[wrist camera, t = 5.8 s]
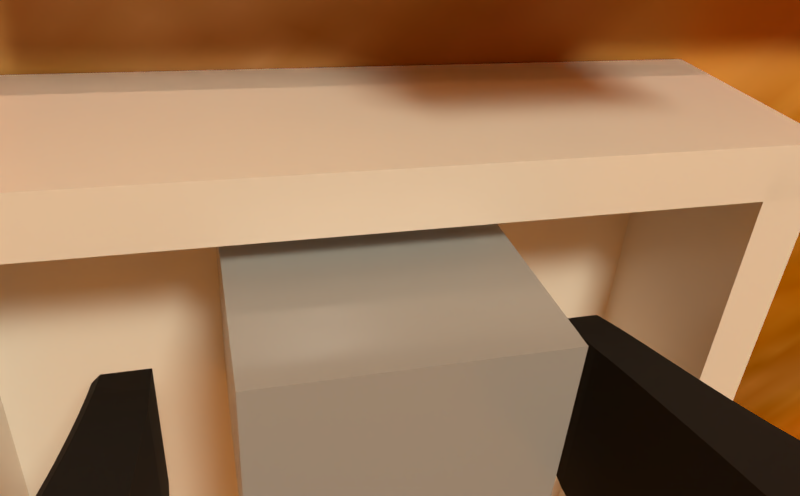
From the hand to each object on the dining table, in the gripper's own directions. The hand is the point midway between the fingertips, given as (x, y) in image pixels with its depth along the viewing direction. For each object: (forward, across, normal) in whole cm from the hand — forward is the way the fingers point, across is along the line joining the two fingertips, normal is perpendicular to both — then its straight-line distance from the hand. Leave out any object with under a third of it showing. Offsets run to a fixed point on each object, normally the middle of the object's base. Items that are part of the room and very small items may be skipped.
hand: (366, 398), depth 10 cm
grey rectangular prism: (+2, 0, 0) cm, 2 cm away
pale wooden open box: (+3, 0, +2) cm, 4 cm away
